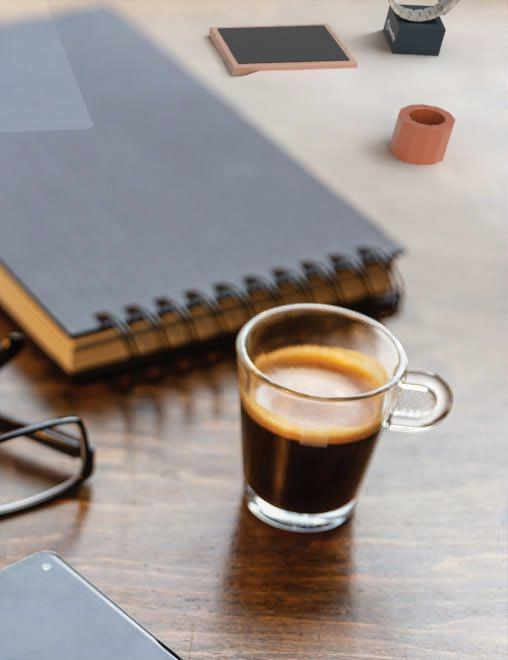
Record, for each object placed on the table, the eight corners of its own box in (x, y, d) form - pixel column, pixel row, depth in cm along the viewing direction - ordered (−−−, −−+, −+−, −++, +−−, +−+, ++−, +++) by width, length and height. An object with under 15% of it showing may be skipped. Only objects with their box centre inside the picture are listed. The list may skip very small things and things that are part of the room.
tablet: (325, 31, 132) (327, 22, 132) (355, 72, 126) (358, 62, 125) (208, 35, 132) (210, 25, 131) (232, 75, 125) (234, 66, 124)
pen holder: (426, 156, 113) (442, 103, 110) (446, 182, 110) (463, 128, 107) (376, 158, 113) (391, 105, 110) (394, 184, 110) (410, 130, 107)
